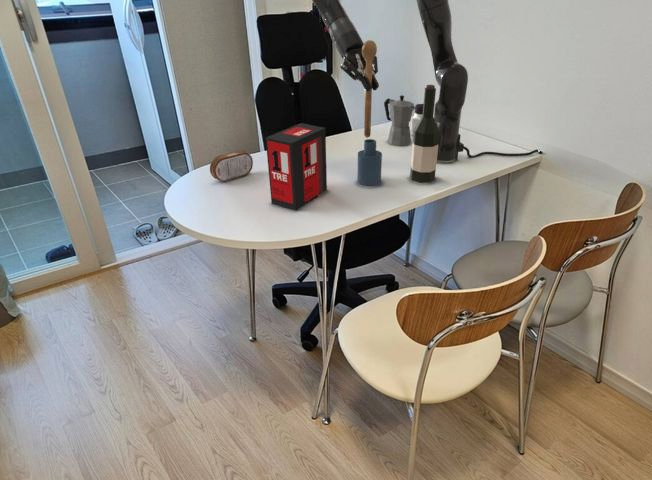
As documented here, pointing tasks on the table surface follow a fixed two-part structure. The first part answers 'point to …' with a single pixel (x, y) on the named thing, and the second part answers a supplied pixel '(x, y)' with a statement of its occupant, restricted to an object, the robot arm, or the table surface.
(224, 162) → the tin
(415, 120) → the medicine bottle
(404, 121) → the coffeepot
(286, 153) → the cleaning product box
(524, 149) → the table surface
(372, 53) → the spoon
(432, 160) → the wine bottle
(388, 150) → the table surface
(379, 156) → the bottle
